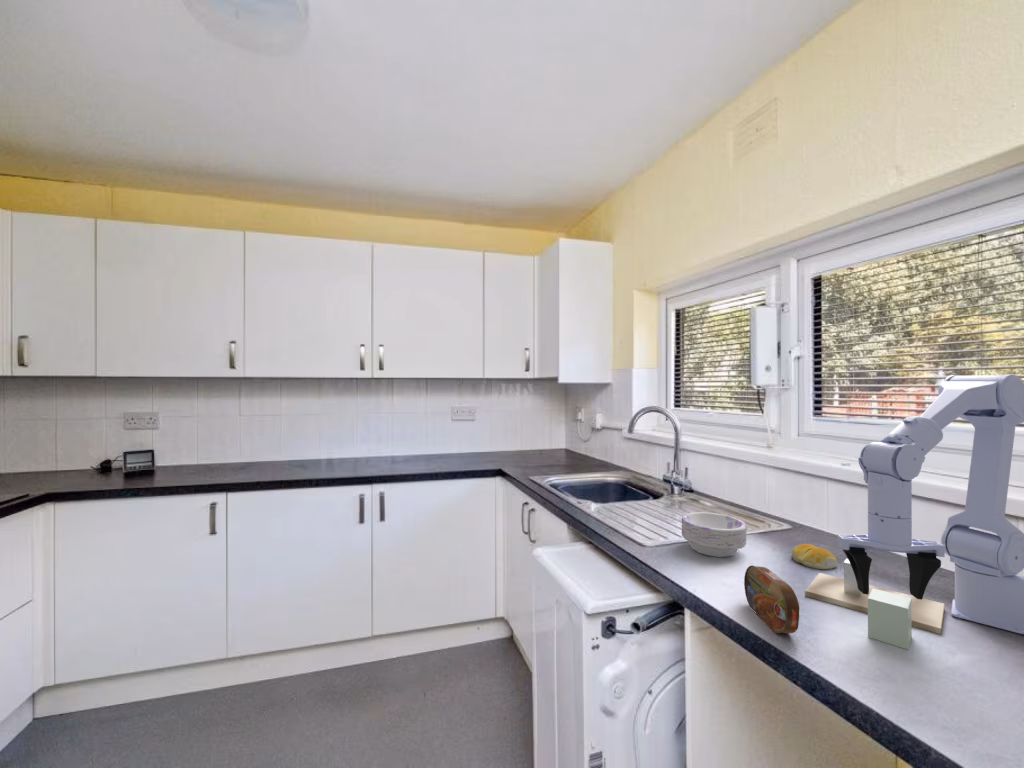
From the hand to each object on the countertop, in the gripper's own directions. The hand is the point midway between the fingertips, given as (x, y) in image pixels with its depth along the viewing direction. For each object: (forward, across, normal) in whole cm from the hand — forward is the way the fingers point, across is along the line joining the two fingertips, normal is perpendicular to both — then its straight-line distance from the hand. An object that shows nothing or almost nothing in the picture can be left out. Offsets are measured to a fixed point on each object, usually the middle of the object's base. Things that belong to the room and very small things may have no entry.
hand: (889, 594), depth 77 cm
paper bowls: (+8, +22, -36) cm, 42 cm away
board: (+7, -3, -13) cm, 15 cm away
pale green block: (+7, 0, 0) cm, 7 cm away
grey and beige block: (+7, -1, -15) cm, 16 cm away
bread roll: (+8, 0, -33) cm, 34 cm away
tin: (+8, +18, -2) cm, 19 cm away
